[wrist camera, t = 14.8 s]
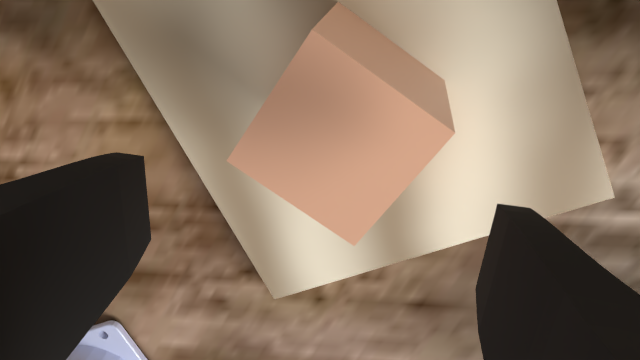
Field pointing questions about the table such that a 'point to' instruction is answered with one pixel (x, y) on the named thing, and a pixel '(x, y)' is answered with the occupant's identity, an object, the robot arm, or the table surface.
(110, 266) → the robot arm
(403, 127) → the salmon pink cube
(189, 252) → the table surface
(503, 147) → the post board
